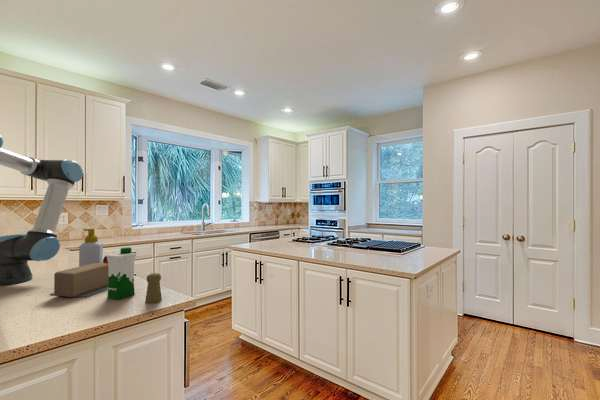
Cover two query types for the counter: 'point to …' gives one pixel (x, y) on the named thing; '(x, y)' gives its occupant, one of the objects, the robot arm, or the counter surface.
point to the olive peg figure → (153, 289)
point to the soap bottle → (90, 250)
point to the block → (80, 279)
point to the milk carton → (121, 274)
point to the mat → (91, 292)
